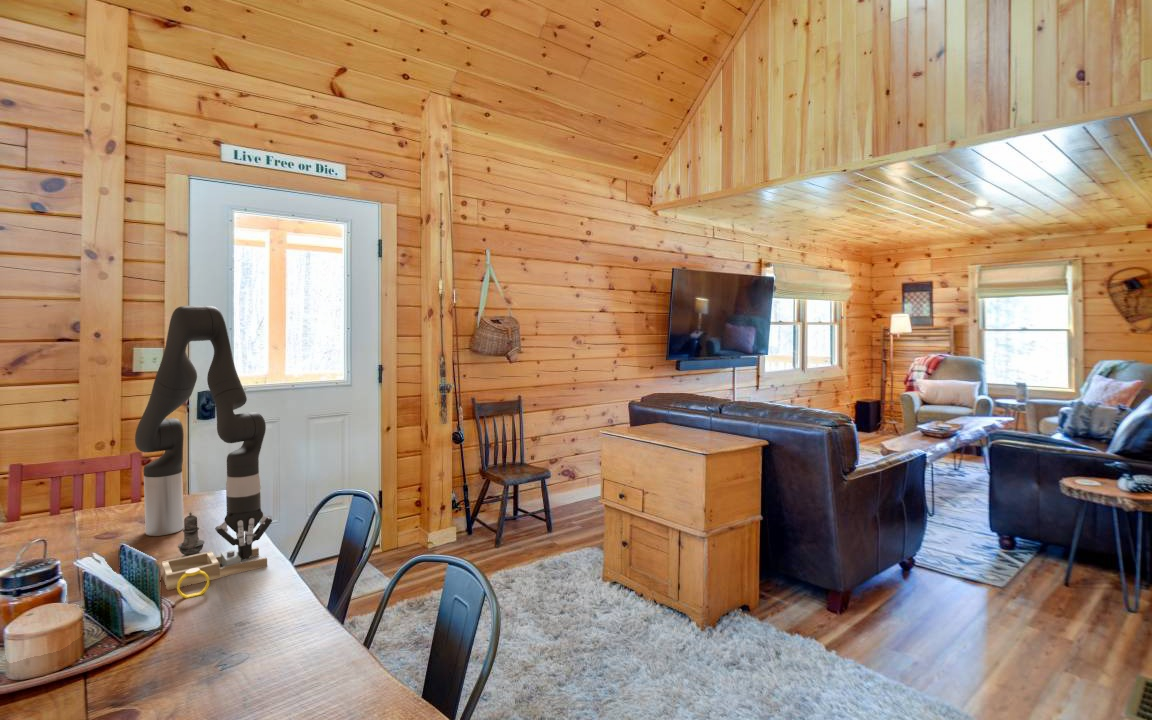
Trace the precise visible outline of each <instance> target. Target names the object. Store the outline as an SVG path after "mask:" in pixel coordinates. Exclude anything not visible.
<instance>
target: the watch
mask: <svg viewBox="0 0 1152 720" xmlns="http://www.w3.org/2000/svg"><path fill="white" fill-rule="evenodd" d="M198 573H199V574H203V575H204V576H205V577H206V578H207V581H206V583H205V586H204V587H203V588H202V589H201V591H198V592H194V593H189V594H185V593H183V592H182V591H181V589H180V588H181V587H180V584H181V582H182V580H183V579H184V578H185V577H187V576H193V575H196V574H198ZM209 586H210V580H209V577H208V575H207V574H206V573H205V572H204V571H201V570H200V569H199V568H192V569H189V570H187V571H186V572H185V574H184V575H183V576H182V577H181V578H180V579H179V581H178V583H177V588H176V590H177V593H178V594H179V596H180V597H182V598H185V599H190V597H191V598H194V597H199V596H202V595H203V594H204V593H205V592H206V591H207V590H208V588H209Z"/></svg>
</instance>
